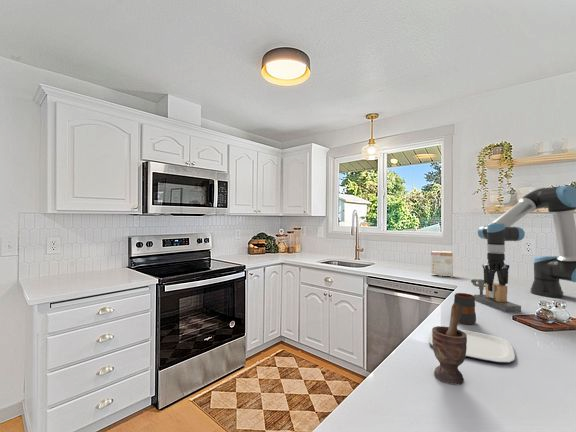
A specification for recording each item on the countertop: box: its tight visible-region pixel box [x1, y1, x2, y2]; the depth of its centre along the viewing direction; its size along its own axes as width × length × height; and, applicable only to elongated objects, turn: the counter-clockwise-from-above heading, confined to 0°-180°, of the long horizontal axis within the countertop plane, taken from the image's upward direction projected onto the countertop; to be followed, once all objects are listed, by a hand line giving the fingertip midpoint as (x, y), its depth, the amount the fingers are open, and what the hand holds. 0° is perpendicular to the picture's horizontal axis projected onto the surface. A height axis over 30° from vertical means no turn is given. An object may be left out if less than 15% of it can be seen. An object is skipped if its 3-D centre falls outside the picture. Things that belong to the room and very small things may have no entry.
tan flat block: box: [484, 281, 508, 303], centre depth 156 cm, size 4×10×10 cm, turn 5°
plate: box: [428, 328, 516, 364], centre depth 106 cm, size 25×25×2 cm
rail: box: [473, 294, 522, 313], centre depth 156 cm, size 8×22×3 cm, turn 5°
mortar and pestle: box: [431, 302, 467, 385], centre depth 86 cm, size 12×9×20 cm
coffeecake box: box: [430, 250, 454, 276], centre depth 238 cm, size 15×7×20 cm, turn 58°
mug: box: [453, 292, 477, 326], centre depth 132 cm, size 9×12×12 cm
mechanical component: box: [470, 278, 485, 295], centre depth 173 cm, size 3×10×10 cm, turn 79°
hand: (495, 297), depth 156 cm, fingers closed on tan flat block, 4 cm apart
